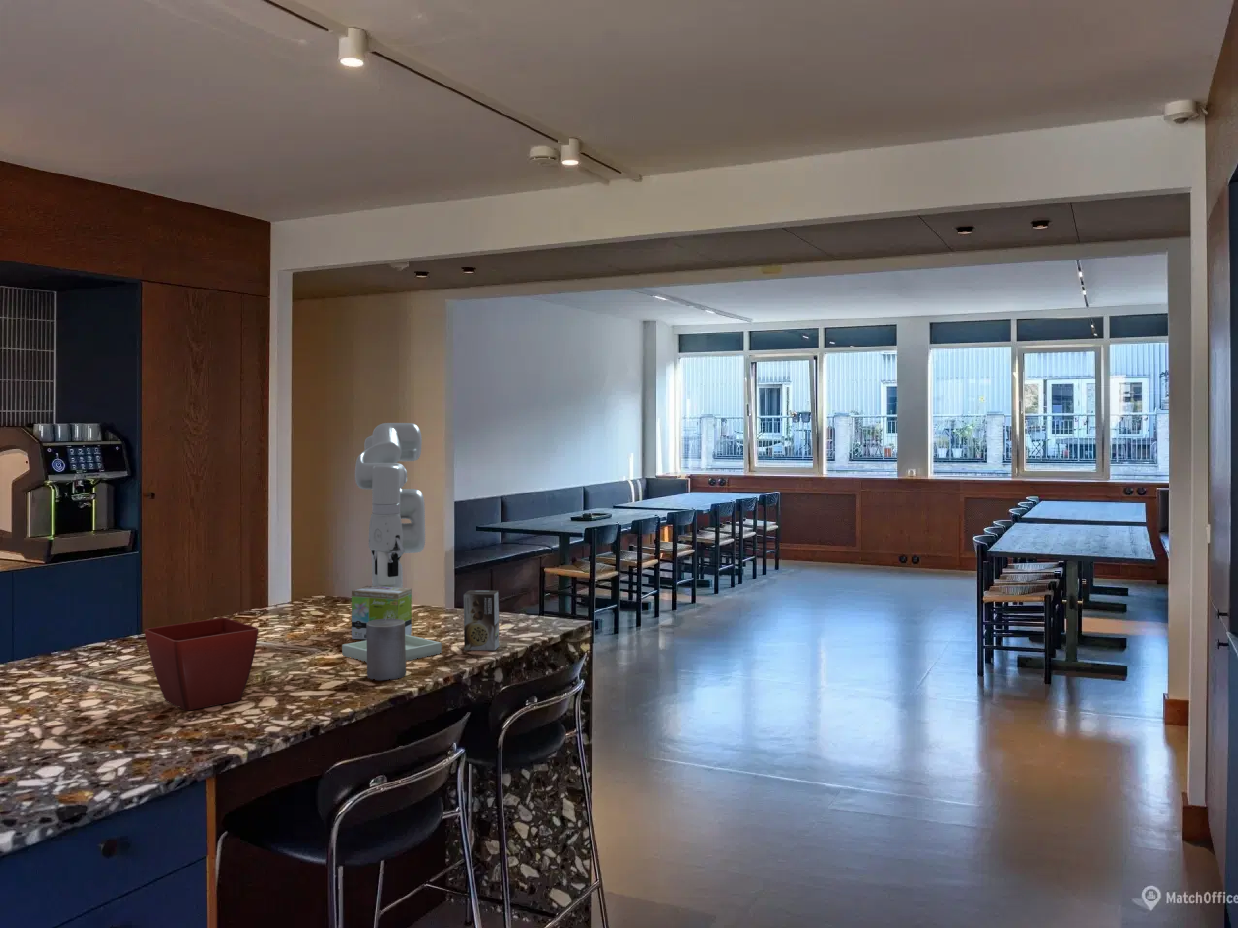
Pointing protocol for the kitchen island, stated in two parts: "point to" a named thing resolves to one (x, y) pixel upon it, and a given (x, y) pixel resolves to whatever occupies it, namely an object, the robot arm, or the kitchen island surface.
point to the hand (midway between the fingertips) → (386, 574)
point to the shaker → (384, 569)
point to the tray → (413, 644)
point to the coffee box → (481, 620)
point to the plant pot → (202, 661)
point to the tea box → (380, 607)
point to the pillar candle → (386, 649)
